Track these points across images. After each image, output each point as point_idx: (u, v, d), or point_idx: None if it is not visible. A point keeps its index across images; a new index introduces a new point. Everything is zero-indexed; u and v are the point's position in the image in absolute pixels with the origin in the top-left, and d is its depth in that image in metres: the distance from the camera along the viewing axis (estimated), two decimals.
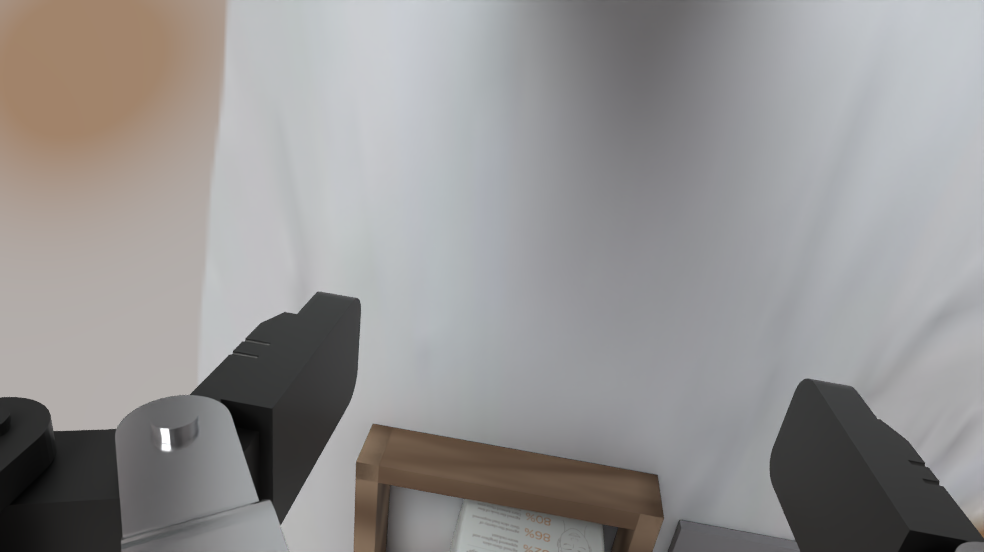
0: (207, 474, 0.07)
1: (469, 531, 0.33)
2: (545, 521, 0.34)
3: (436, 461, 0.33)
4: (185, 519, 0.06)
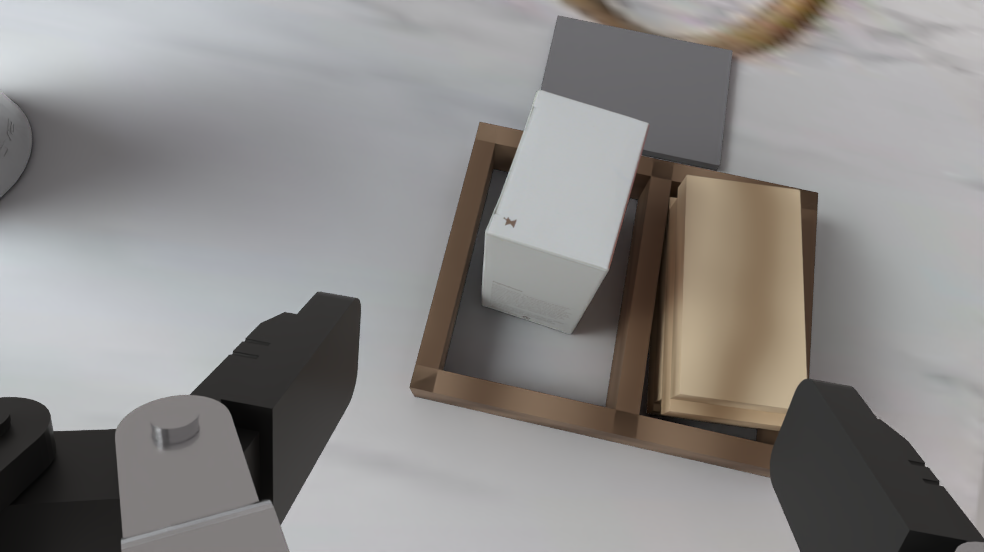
0: (207, 474, 0.07)
1: None
2: None
3: None
4: (185, 519, 0.06)
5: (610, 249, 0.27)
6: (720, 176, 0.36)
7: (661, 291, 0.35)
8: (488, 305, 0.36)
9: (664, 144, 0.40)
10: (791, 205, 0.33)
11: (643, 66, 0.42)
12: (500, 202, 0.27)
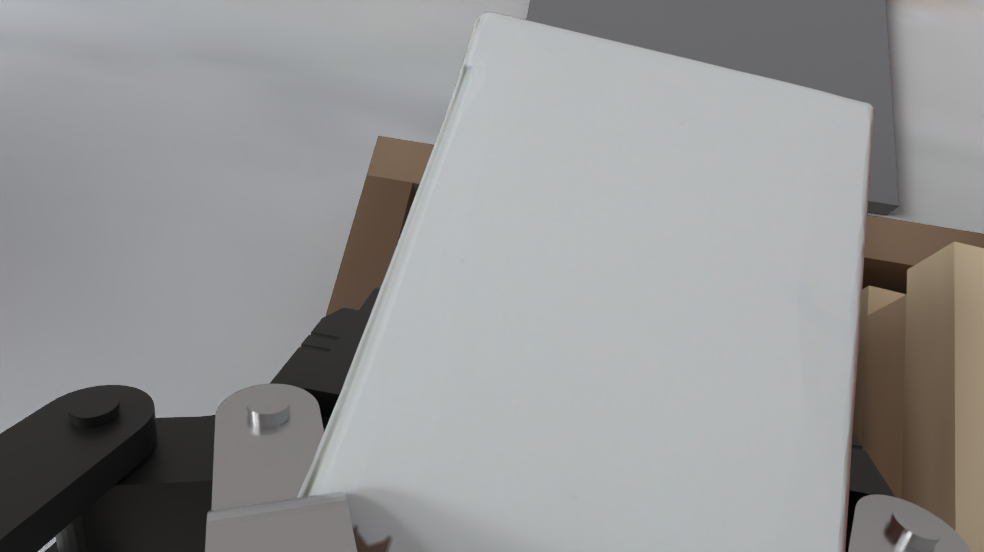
0: (307, 457, 0.07)
1: None
2: None
3: None
4: (267, 501, 0.06)
5: None
6: (937, 236, 0.16)
7: None
8: None
9: None
10: None
11: (716, 15, 0.21)
12: (328, 450, 0.07)
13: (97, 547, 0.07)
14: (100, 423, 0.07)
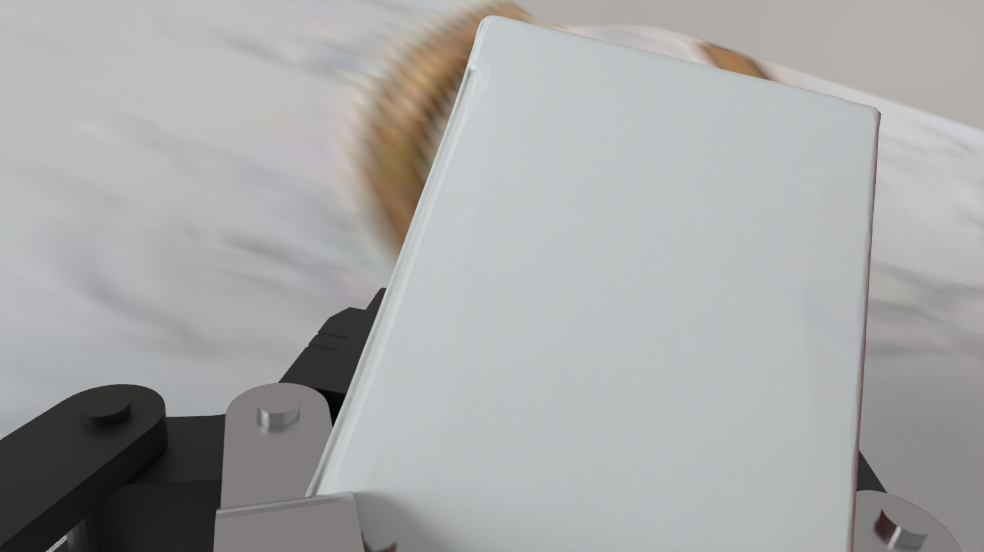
0: (317, 455, 0.07)
1: None
2: None
3: None
4: (276, 499, 0.06)
5: None
6: None
7: None
8: None
9: None
10: None
11: None
12: (333, 457, 0.07)
13: (107, 545, 0.07)
14: (111, 422, 0.07)
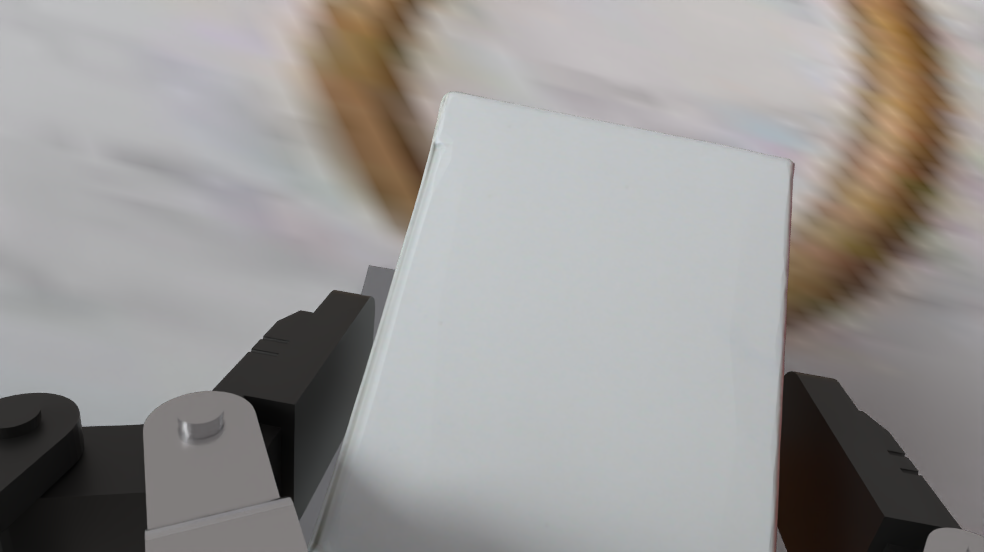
0: (235, 468, 0.07)
1: None
2: None
3: None
4: (207, 513, 0.06)
5: None
6: None
7: None
8: None
9: None
10: None
11: None
12: (334, 497, 0.08)
13: None
14: (18, 433, 0.07)
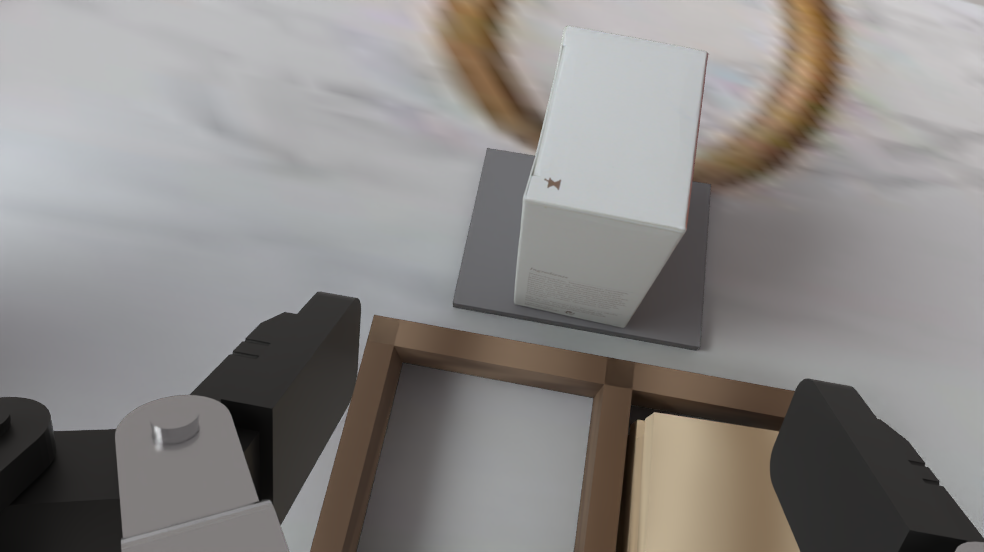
0: (207, 474, 0.07)
1: None
2: None
3: None
4: (185, 519, 0.06)
5: (684, 205, 0.21)
6: (698, 380, 0.27)
7: None
8: (523, 303, 0.30)
9: None
10: None
11: None
12: (537, 161, 0.22)
13: None
14: None
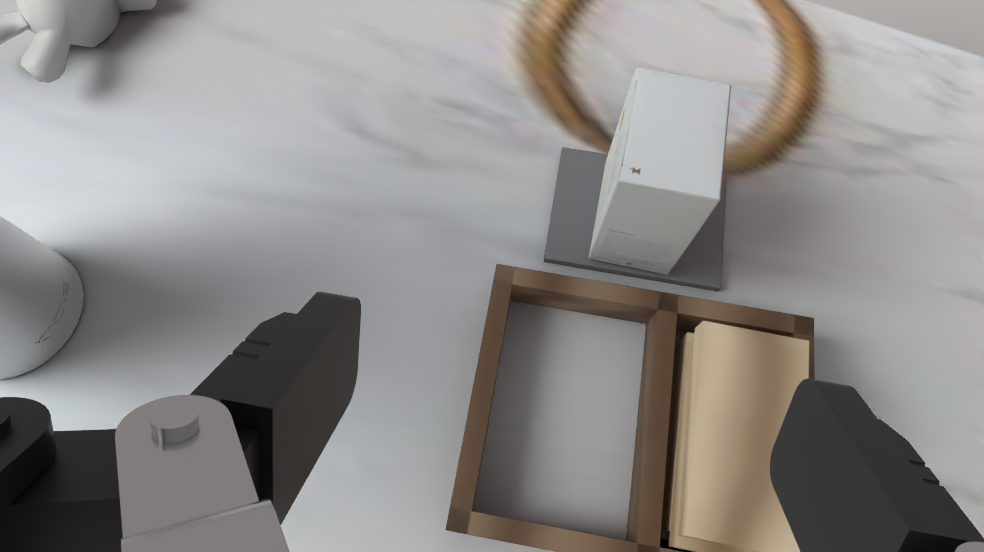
0: (207, 474, 0.07)
1: (597, 227, 0.39)
2: (602, 188, 0.43)
3: None
4: (185, 519, 0.06)
5: (719, 184, 0.33)
6: (722, 306, 0.39)
7: (675, 422, 0.38)
8: (596, 257, 0.42)
9: None
10: (800, 355, 0.35)
11: None
12: (624, 156, 0.34)
13: None
14: None
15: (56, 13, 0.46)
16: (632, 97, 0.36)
